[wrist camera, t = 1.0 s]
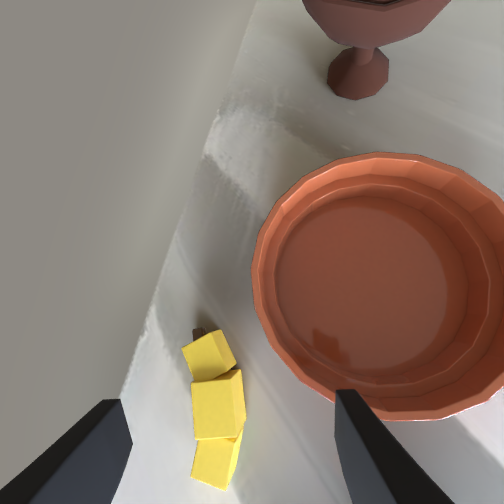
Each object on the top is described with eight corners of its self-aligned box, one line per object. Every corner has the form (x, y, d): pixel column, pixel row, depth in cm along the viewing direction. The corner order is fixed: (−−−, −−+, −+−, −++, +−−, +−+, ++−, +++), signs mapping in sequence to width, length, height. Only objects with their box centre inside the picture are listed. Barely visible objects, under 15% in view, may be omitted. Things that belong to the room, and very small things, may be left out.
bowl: (474, 421, 17) (540, 466, 12) (245, 359, 21) (228, 374, 16) (488, 198, 20) (547, 163, 15) (282, 177, 23) (276, 143, 19)
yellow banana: (252, 467, 19) (243, 495, 16) (205, 469, 20) (188, 496, 17) (235, 322, 22) (225, 325, 19) (193, 328, 22) (177, 331, 19)
